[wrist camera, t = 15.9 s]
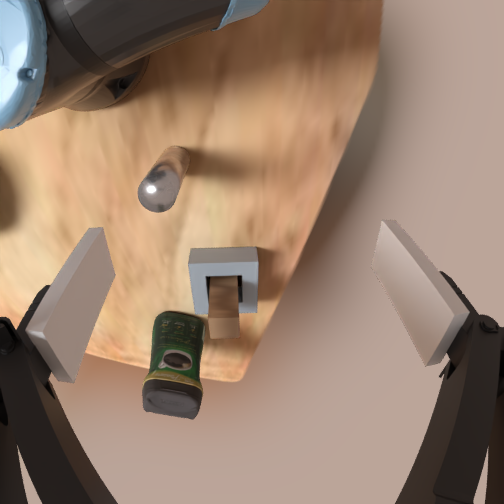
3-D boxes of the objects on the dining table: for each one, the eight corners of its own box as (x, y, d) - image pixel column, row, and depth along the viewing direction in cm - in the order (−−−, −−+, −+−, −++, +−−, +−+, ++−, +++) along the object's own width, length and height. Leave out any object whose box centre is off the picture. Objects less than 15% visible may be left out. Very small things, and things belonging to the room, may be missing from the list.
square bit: (212, 284, 52) (210, 338, 42) (211, 264, 49) (207, 318, 39) (237, 283, 52) (239, 338, 42) (236, 263, 50) (239, 317, 40)
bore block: (196, 298, 53) (195, 314, 50) (190, 248, 48) (188, 263, 44) (255, 296, 54) (257, 312, 50) (256, 246, 48) (258, 261, 45)
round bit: (162, 175, 41) (140, 213, 31) (159, 147, 39) (135, 177, 29) (190, 173, 41) (178, 211, 31) (189, 145, 39) (174, 174, 29)
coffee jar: (152, 334, 58) (137, 417, 42) (157, 305, 54) (138, 394, 38) (200, 344, 60) (196, 427, 44) (209, 317, 56) (206, 406, 40)
